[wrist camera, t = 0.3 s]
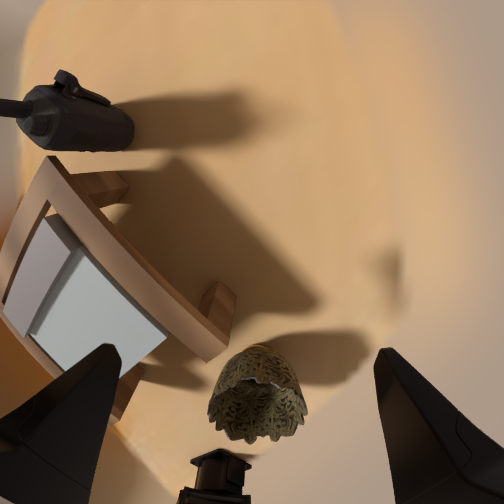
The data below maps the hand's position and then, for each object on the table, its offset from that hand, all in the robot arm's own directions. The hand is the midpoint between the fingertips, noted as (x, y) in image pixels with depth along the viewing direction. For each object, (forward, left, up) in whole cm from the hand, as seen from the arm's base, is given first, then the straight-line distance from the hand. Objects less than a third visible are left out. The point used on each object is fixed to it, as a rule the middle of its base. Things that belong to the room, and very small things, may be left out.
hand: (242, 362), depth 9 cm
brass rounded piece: (-7, -9, -15) cm, 19 cm away
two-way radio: (-1, +15, -15) cm, 22 cm away
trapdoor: (-12, +6, -9) cm, 16 cm away
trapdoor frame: (-12, +6, -15) cm, 20 cm away
